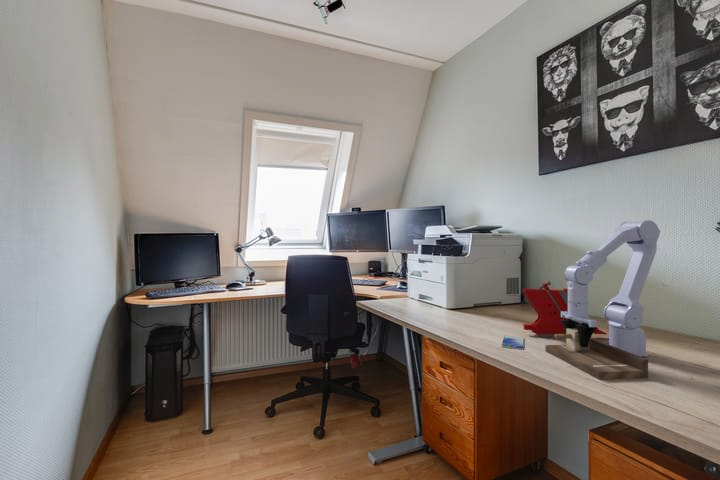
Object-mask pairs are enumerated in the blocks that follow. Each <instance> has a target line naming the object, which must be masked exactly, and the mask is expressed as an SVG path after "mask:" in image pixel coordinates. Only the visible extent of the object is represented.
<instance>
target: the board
mask: <svg viewBox="0 0 720 480" xmlns="http://www.w3.org/2000/svg"><path fill="white" fill-rule="evenodd" d="M545 352H547V353H549V354H551V355H552V356H554V357H556V358H558V359H560V360H561V361H564V362H565V363H568V364H570V366H573V367H575V368H577V369H579V370H580V371H583V372H584V373H585V374H588V375H589V376H591V377H593V378H595V379H598V380H623V379H625V380H626V379H648V378H649V359H648V358H646V357H644V356H637V355H635V354H632V353H630V352H627V351H624V350H622V349H619V348H617V347H614V346H611V345H609V343H606V342H603V341H600V340H598V339H596V338H593V337H591V338H590V341H589V350H573V349H571V348H568V347H566V344H545Z"/></svg>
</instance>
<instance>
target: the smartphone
mask: <svg viewBox="0 0 720 480" xmlns="http://www.w3.org/2000/svg"><path fill="white" fill-rule="evenodd" d="M525 339H526V338H524V337H519V336H513V335H512V336H511V335H504V336H503V338H502V341H501V345H500V346H501V348H506V349H511V350H512V349H513V350H521V351H524V349H525Z"/></svg>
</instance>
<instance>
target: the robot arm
mask: <svg viewBox="0 0 720 480" xmlns="http://www.w3.org/2000/svg"><path fill="white" fill-rule="evenodd" d="M660 234H661V229H660V228H659V226H658V225H657V223H656V222H655V221H652V220H649V219H648V220H642V221H641V220H640V221H623V222H621V223H620V224H619V225H618V226H617V227H615V228H614V232H613V233H612V234H610V236H609V237H608V238H607V239H606V240H605V241H604V242H603V243H602V244H601V245H600V246H599V247H598V248H597V249H591V250H587V251H586V252H585V255H584V256H582V257H581V258H580V259H579V260H577V261H576V262H575V264H574V265H569V266H568V267H566V269H565V270H564V273H563V278H564V280H565V281H566V286H567V289H568V312H567V311H561V317H563V318H564V317H565V319H562V320H561V323H562V324H563V326H564V328H565V331H566V329H568V328H577V330H578V334H579V342H580V346H581V347H588V345H589V341H590V338H592V336H593V334H594V333H593V332H594V331H595V330H596V327H597V328H598V321H597V320H595V319H594V318H592V317H590V316H589V283H591V282H592V281H593V278H594V275H595V274H596V272H598V270H600V269H601V268H602V267H603V266H604V265H605V264H607V262H608V256H610V255H611V254H612V253H613V252H615V251H616V250H617V249H619V248H620V247H622V245H624V244H625V243H626V244H627V246H628V247H630V248H631V249H632V251H633V252H632V253H633V254H632V257H631V259H630V262H629V265H628V267H627V270H626V273H625V275H624V278H623V281H622V283H621V285H620V289H619V291H618V294H616V295H615V296H614V297H611V298H610V300H609V302H608V304H607V305H606V306H605V307H604V309H603V316H604V319H605V320H606V321H607V324H608V325H609V327H608V332H609V333H608V337H609V338H608V344H609V345H611V346H614V347H617V348H619V349H622V350H624V351H627V352H630V353H632V354H635V355H637V356H640V357H649V354H647V337H646V333H645V331H644V329H643V328H642V327H640V326H641V325H642V323H643V321H644V316H643V315H644V313H643V312H644V309H645V308H644V306H643V305H642V304H641V302H640V297H641V294H642V292H643V289H644V286H645V283H646V282H647V278H648V276H649V273H650V270H651V267H652V265H653V262H654V259H655V256H656V253H657V250H658V249H657V248H658V247H657V245H658V244H657V243H658V239H659V237H660ZM579 323H582V324H579Z"/></svg>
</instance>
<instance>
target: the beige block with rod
mask: <svg viewBox="0 0 720 480" xmlns="http://www.w3.org/2000/svg"><path fill="white" fill-rule="evenodd" d="M554 339H556V340H563V339H564V340H565V339H566V340H565V341H566V344H565V345H566V347H568V348H571V349H573V350H589V345H588V347H581V346H580V342H579V334H578V330H577V328H568V329H566V334H555V338H554Z"/></svg>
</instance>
